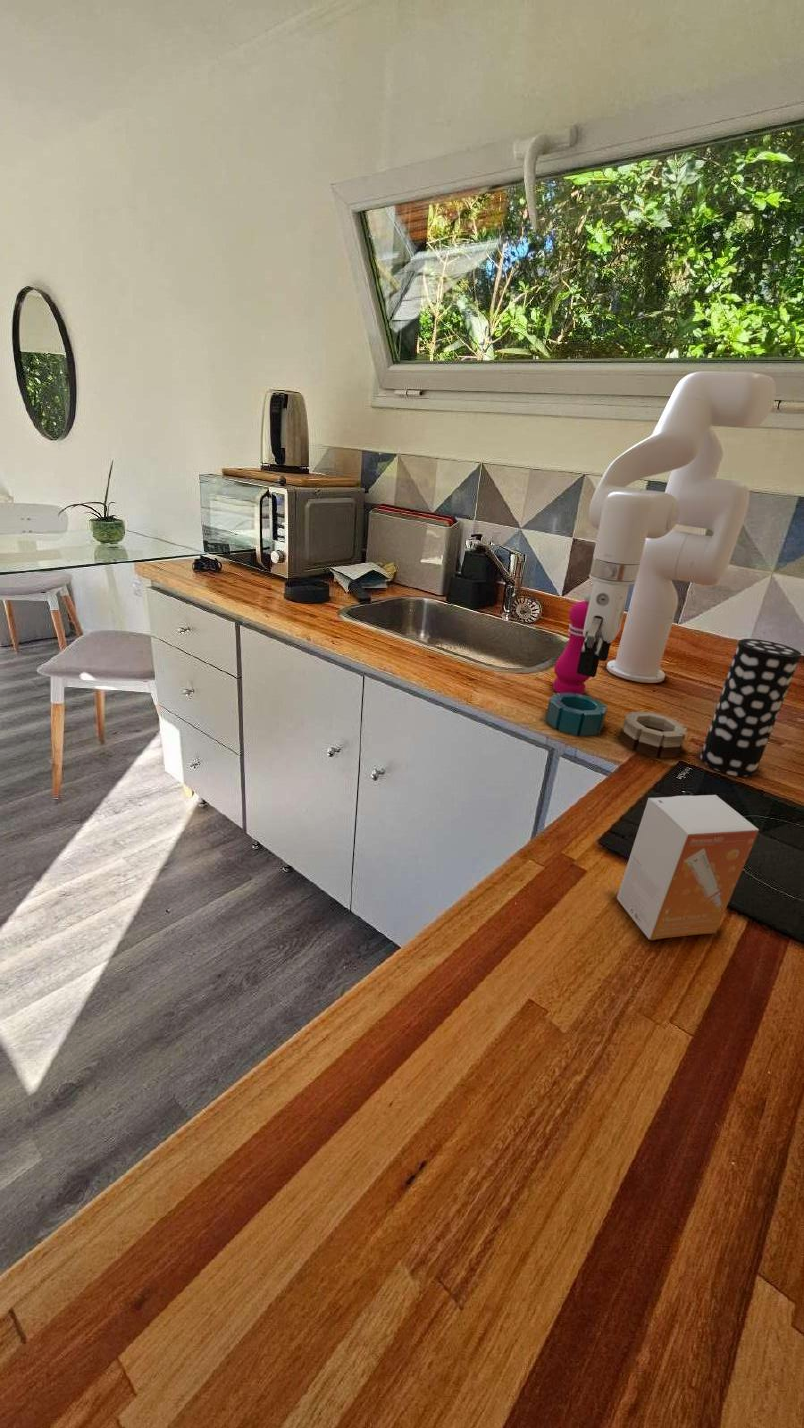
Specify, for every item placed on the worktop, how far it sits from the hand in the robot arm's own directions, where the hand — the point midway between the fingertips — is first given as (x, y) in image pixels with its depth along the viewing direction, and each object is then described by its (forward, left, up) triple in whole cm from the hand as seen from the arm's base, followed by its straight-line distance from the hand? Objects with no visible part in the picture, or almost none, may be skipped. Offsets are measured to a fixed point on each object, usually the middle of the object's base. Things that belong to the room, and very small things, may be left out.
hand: (591, 666), depth 106 cm
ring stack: (+5, +13, -10) cm, 17 cm away
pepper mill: (-11, -5, -10) cm, 16 cm away
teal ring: (+5, 0, -10) cm, 11 cm away
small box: (+49, +20, -10) cm, 53 cm away
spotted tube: (+4, +25, -10) cm, 27 cm away
